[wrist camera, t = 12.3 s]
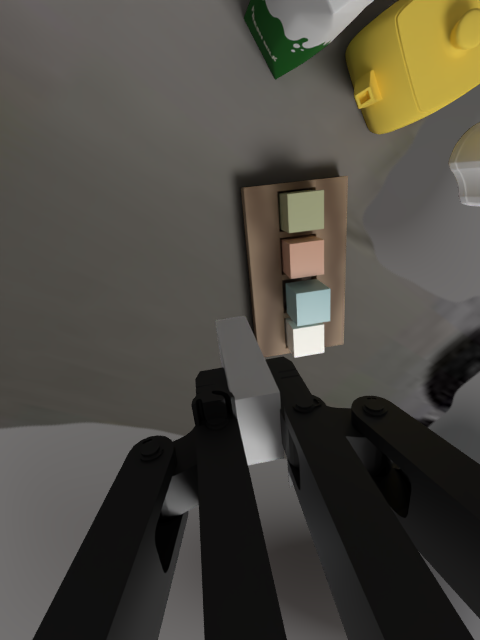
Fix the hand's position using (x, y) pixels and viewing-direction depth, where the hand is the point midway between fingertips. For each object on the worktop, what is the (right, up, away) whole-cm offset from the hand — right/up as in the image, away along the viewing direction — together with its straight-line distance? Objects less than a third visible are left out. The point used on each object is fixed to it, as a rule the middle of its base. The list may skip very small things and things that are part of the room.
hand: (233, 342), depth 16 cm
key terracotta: (+8, +11, +31) cm, 34 cm away
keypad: (+9, +9, +33) cm, 35 cm away
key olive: (+8, +16, +29) cm, 34 cm away
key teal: (+9, +5, +31) cm, 33 cm away
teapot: (+20, +33, +26) cm, 46 cm away
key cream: (+10, 0, +36) cm, 37 cm away
